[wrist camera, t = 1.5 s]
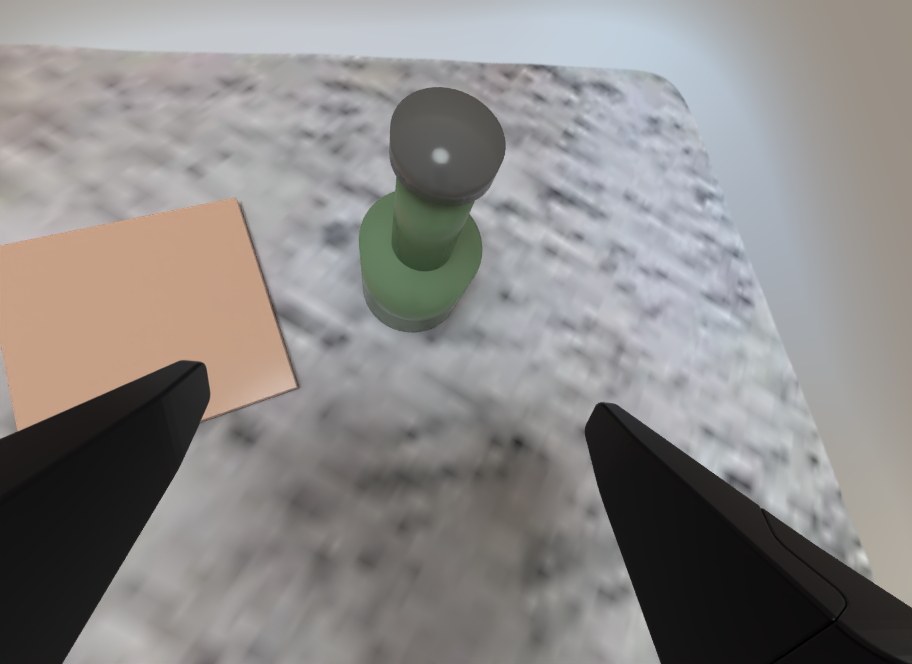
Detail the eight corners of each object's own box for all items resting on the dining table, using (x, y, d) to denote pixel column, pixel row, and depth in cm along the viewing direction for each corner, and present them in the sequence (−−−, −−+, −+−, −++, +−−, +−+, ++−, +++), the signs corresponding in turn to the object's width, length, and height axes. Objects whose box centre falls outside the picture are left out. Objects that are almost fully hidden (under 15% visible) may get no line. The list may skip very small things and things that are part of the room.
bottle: (469, 265, 25) (561, 108, 13) (438, 346, 23) (509, 255, 11) (385, 229, 24) (395, 27, 12) (347, 310, 23) (312, 169, 10)
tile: (298, 387, 21) (296, 386, 20) (38, 479, 18) (26, 481, 17) (239, 203, 23) (235, 197, 22) (-7, 254, 19) (-18, 249, 19)
